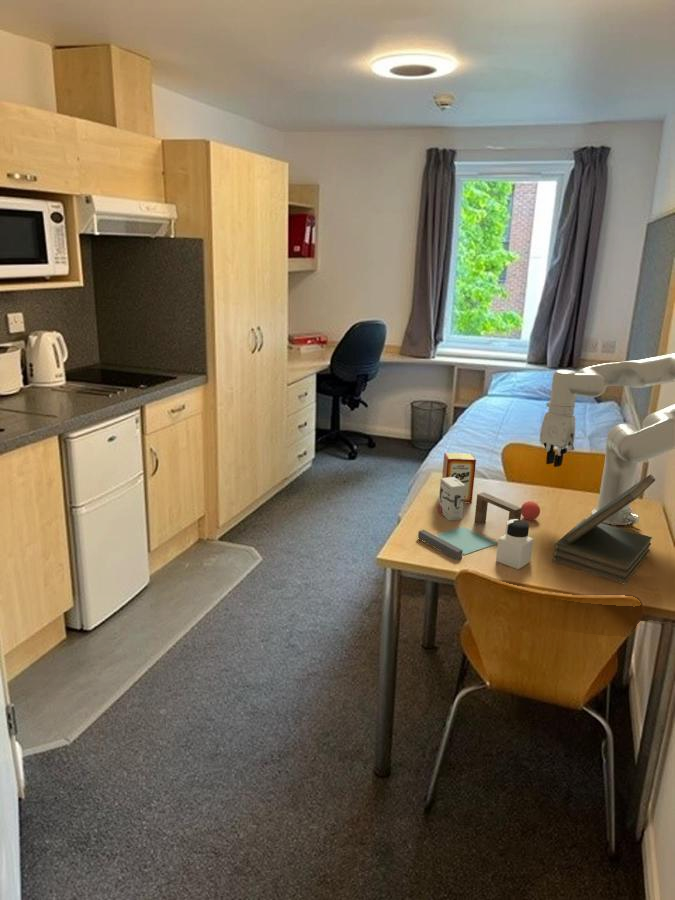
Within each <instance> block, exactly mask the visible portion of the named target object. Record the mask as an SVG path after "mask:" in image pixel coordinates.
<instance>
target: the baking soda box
mask: <svg viewBox="0 0 675 900" xmlns="http://www.w3.org/2000/svg"><path fill="white" fill-rule="evenodd" d="M442 464H443V465H442V477H441V478H447V477H455V478H456V479H458V480H459V481H460V482H462V483H463V484H465V493H464V502H470V503H469V504H472V503H473V496H474V495H473V494H474V483H475V472H476V465H477V459H476V457H475V456H474V455H473V454H472V453H465V452H463V453H460V452H444V455H443V463H442Z"/></svg>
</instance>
